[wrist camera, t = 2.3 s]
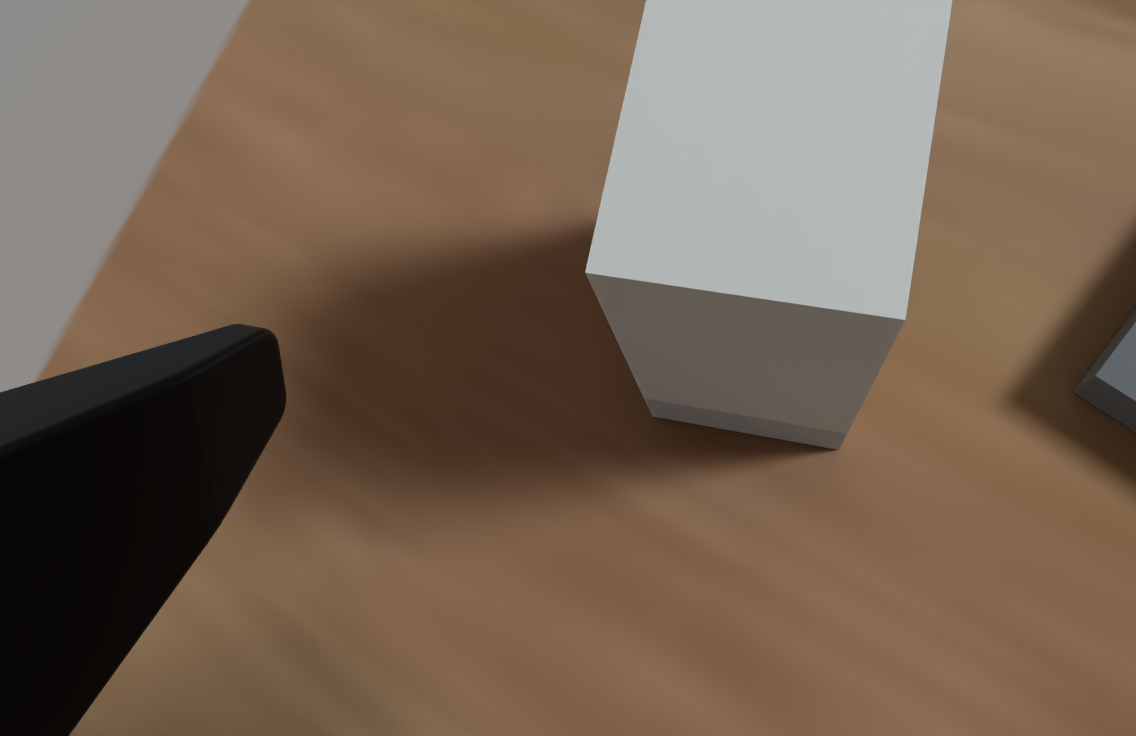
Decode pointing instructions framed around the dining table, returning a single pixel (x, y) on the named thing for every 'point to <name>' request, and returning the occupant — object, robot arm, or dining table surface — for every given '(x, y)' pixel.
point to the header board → (1114, 377)
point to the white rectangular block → (768, 206)
